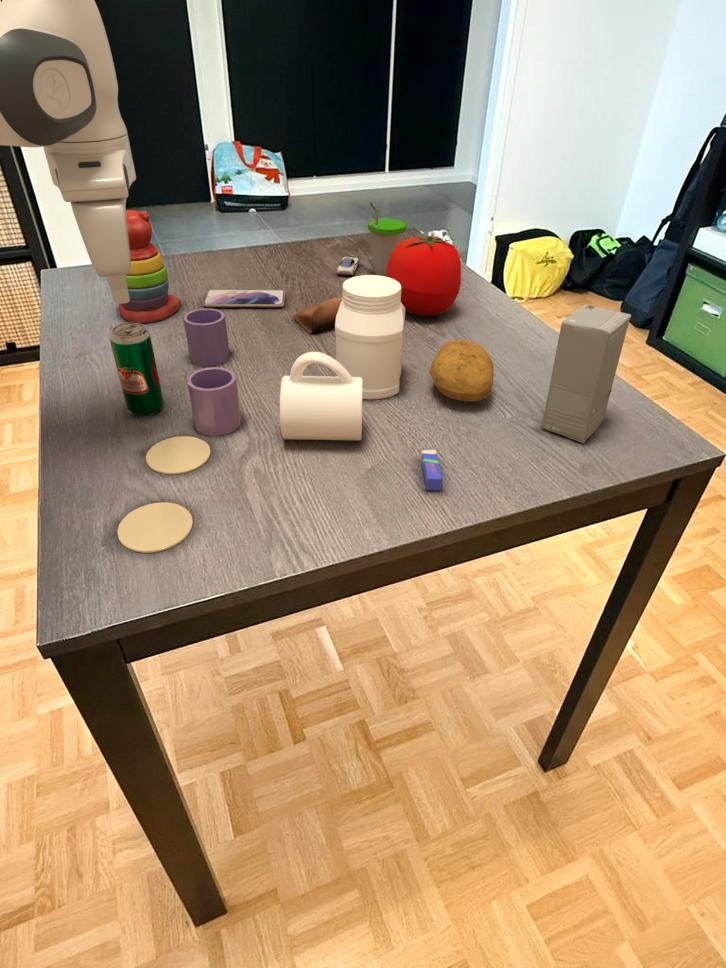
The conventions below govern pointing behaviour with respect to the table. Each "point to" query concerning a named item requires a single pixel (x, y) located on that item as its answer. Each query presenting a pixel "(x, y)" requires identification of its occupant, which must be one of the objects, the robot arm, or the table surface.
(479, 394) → the potato
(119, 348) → the soda can
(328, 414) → the mug
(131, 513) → the coasters
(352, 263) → the toy car
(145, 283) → the stacking bear
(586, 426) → the cosmetic box
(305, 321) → the sunglasses case
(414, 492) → the table surface
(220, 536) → the table surface
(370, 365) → the jar
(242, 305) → the smartphone
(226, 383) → the purple tumbler
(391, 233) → the cup
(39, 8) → the robot arm
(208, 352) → the purple hollow cylinder
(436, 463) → the eraser
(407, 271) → the tomato
